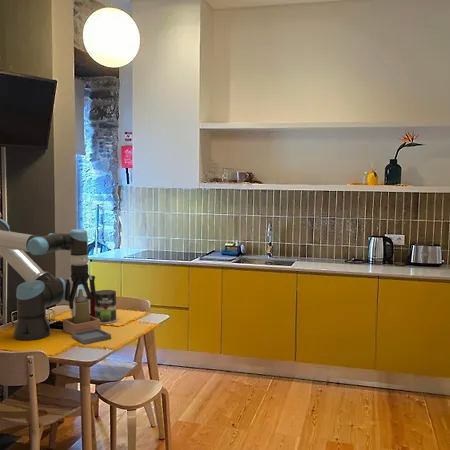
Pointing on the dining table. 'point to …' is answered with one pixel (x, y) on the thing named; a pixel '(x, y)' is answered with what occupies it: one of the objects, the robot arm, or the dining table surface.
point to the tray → (91, 336)
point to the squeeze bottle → (81, 309)
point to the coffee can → (105, 306)
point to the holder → (81, 325)
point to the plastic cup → (92, 308)
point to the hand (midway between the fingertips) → (81, 314)
